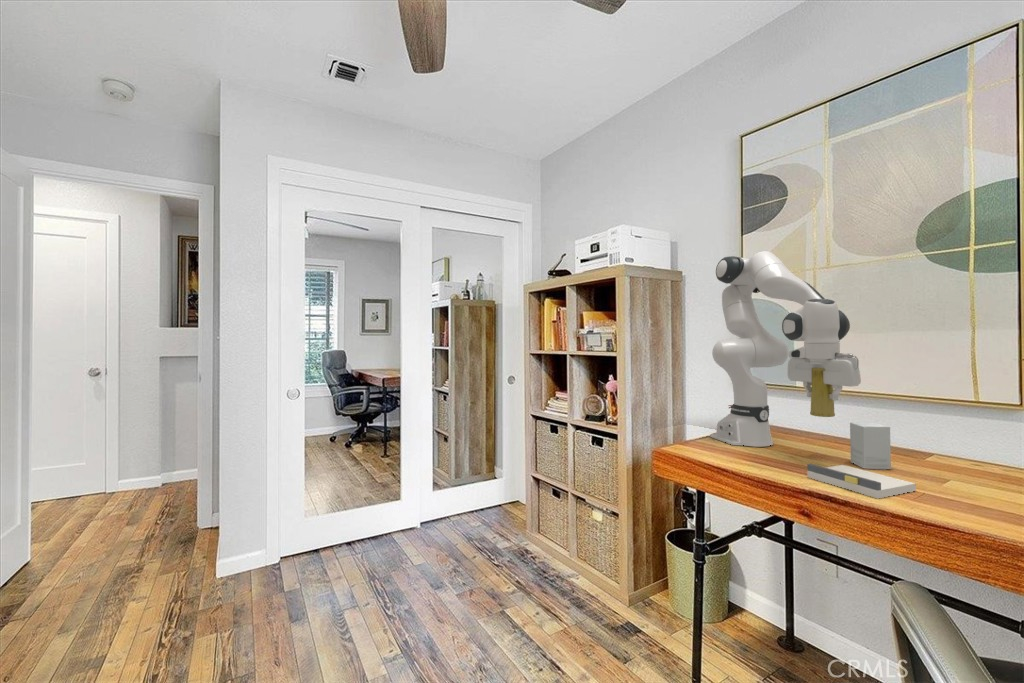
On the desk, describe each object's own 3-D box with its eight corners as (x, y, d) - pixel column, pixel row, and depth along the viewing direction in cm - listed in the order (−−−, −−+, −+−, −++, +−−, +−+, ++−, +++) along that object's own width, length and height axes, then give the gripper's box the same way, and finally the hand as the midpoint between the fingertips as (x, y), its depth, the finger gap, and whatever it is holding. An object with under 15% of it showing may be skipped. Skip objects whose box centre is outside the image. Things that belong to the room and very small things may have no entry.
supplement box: (892, 470, 131) (891, 426, 130) (863, 469, 132) (862, 426, 132) (876, 463, 138) (876, 422, 138) (849, 462, 139) (849, 421, 139)
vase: (835, 417, 130) (835, 369, 130) (810, 416, 133) (810, 368, 133) (833, 414, 135) (833, 367, 135) (809, 413, 139) (809, 367, 138)
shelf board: (806, 477, 125) (806, 464, 125) (842, 471, 130) (842, 458, 130) (876, 499, 108) (876, 483, 108) (915, 491, 113) (915, 476, 113)
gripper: (866, 353, 125) (866, 402, 125) (798, 351, 145) (799, 393, 145) (850, 354, 123) (850, 404, 123) (783, 352, 143) (784, 395, 143)
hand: (822, 398), depth 134 cm, fingers closed on vase, 5 cm apart
